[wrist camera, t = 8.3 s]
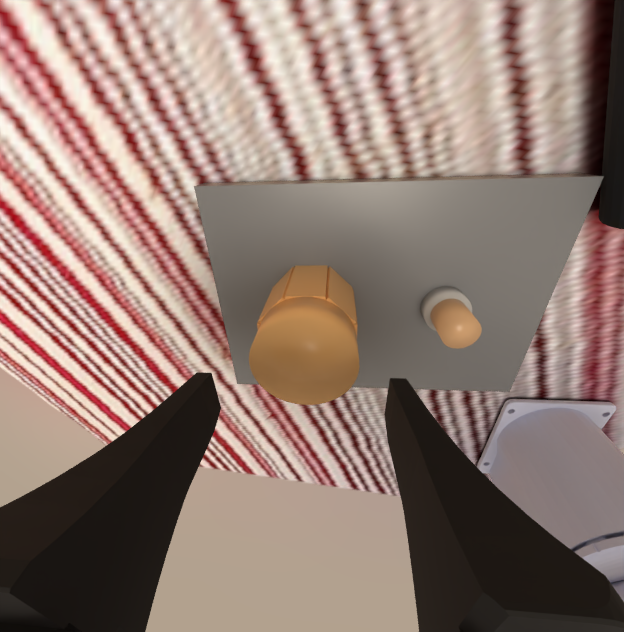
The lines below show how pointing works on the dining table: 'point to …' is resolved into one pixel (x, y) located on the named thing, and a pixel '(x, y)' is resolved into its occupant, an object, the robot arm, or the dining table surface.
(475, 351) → the board
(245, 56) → the dining table surface
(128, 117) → the dining table surface
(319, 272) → the wire cap
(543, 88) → the dining table surface
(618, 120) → the pipe connector
